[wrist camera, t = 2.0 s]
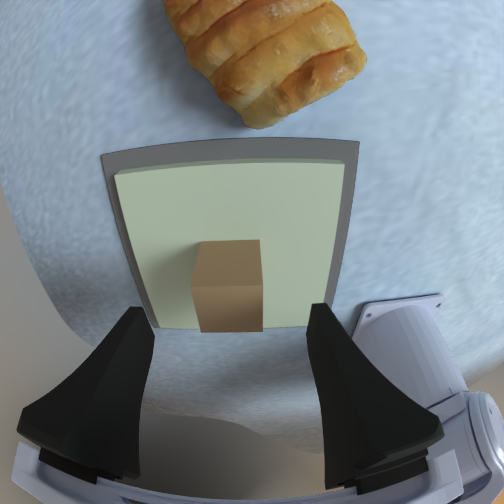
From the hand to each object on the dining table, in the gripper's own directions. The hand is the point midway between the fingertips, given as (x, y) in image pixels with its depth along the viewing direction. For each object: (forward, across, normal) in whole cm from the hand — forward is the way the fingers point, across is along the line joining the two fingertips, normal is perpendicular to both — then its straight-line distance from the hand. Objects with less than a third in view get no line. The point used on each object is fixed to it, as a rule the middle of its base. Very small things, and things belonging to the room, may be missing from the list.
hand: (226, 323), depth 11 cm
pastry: (+6, -2, -12) cm, 13 cm away
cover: (+5, 0, 0) cm, 5 cm away
